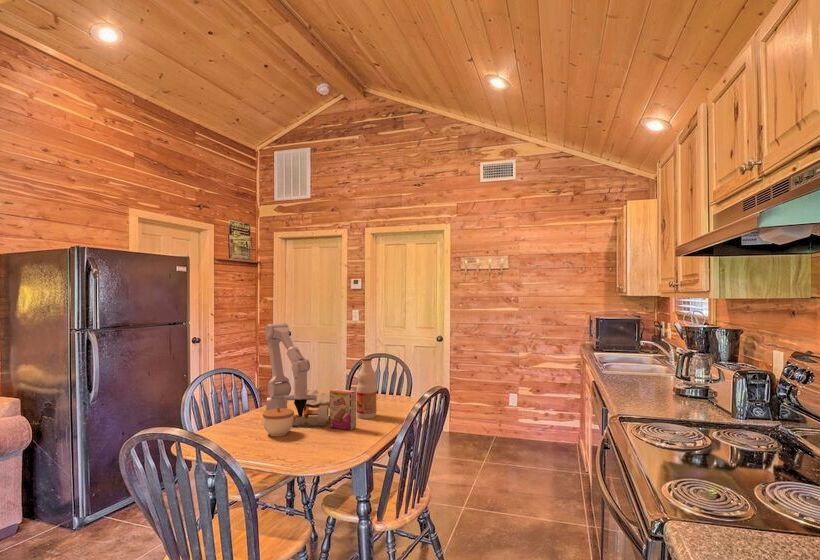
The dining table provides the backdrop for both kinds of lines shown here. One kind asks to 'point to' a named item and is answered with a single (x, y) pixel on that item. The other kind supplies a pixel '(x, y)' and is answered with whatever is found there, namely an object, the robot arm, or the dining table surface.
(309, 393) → the food container
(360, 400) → the fruit juice
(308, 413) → the shaft
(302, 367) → the robot arm
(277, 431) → the lidded bowl
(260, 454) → the dining table surface
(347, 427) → the candy bar box
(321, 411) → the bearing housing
